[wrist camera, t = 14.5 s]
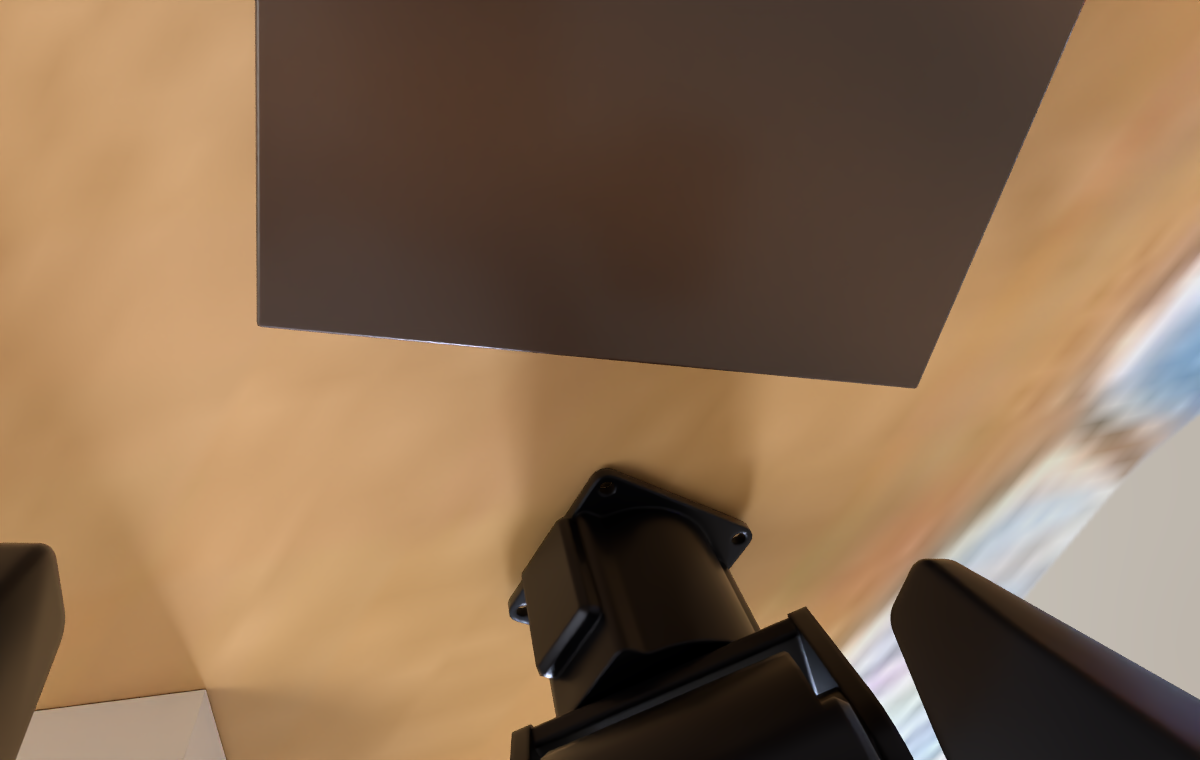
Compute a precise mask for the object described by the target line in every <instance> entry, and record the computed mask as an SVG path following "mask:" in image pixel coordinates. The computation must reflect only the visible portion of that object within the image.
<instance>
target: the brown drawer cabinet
mask: <svg viewBox="0 0 1200 760" xmlns="http://www.w3.org/2000/svg"><path fill="white" fill-rule="evenodd" d="M1084 3H1085V0H255V81H256V265H257V324H258V326H260V327H268V328H279V329H289V330H300V331H310V332H321V333H332V334H342V335H353V336H363V337H374V338H385V339H395V340H406V341H417V342H427V343H438V344H448V345H459V346H470V347H480V348H491V349H501V350H512V351H523V352H533V353H544V354H554V355H565V356H576V357H586V358H597V359H608V360H618V361H629V362H639V363H650V364H661V365H671V366H682V367H692V368H703V369H714V370H724V371H735V372H745V373H756V374H767V375H777V376H788V377H799V378H809V379H820V380H830V381H841V382H852V383H862V384H873V385H883V386H894V387H905V388H917V386H918V384H919V382H920V379H921V377H922V375H923V373H924V370H925V368H926V366H927V363H928V361H929V359H930V356H931V354H932V352H933V350H934V347H935V345H936V343H937V340H938V338H939V336H940V333H941V331H942V329H943V327H944V324H945V322H946V320H947V317H948V315H949V313H950V310H951V308H952V306H953V304H954V301H955V299H956V297H957V294H958V292H959V290H960V287H961V285H962V283H963V281H964V278H965V276H966V274H967V271H968V269H969V267H970V265H971V262H972V260H973V258H974V255H975V253H976V251H977V248H978V246H979V244H980V242H981V239H982V237H983V235H984V232H985V230H986V228H987V225H988V223H989V221H990V219H991V216H992V214H993V212H994V209H995V207H996V205H997V202H998V200H999V198H1000V196H1001V193H1002V191H1003V189H1004V186H1005V184H1006V182H1007V179H1008V177H1009V175H1010V173H1011V170H1012V168H1013V166H1014V163H1015V161H1016V159H1017V157H1018V154H1019V152H1020V150H1021V147H1022V145H1023V143H1024V140H1025V138H1026V136H1027V134H1028V131H1029V129H1030V127H1031V124H1032V122H1033V120H1034V117H1035V115H1036V113H1037V111H1038V108H1039V106H1040V104H1041V101H1042V99H1043V97H1044V94H1045V92H1046V90H1047V88H1048V85H1049V83H1050V81H1051V78H1052V76H1053V74H1054V71H1055V69H1056V67H1057V65H1058V62H1059V60H1060V58H1061V55H1062V53H1063V51H1064V48H1065V46H1066V44H1067V42H1068V39H1069V37H1070V35H1071V32H1072V30H1073V28H1074V26H1075V23H1076V21H1077V19H1078V16H1079V14H1080V12H1081V9H1082V7H1083V5H1084Z"/></svg>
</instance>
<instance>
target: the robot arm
mask: <svg viewBox="0 0 1200 760" xmlns="http://www.w3.org/2000/svg"><path fill="white" fill-rule="evenodd" d="M605 482H612V483H611V485H609V486H608V487H605V488H602V487H600V486H601V485H602V484H603V483H605ZM739 533H740V534H739ZM736 534H739V535H738V536H737V537H734V536H735V535H736ZM733 537H734V538H733ZM751 540H752V533H751V531H750V529H749V528H748V526H747V524H746V523H744V522H743V521H741V520H738V519H736V518H733V517H731V516H728V515H726V514H723V513H721V512H718V511H716V510H713V509H711V508H708V507H706V506H703V505H701V504H698V503H696V502H693V501H691V500H688V499H686V498H683V497H681V496H678V495H676V494H673V493H671V492H668V491H666V490H663V489H661V488H658V487H656V486H653V485H651V484H648V483H646V482H643V481H641V480H638V479H636V478H633V477H631V476H628V475H626V474H623V473H621V472H618V471H616V470H613V469H609V468H605V469H600V470H598V471H596V472H595V473H594V474H593V475H592V476H591V478H590V479H589V481H588V482H587V484H586V485H585V487H584V488H583V490H582V491H581V493H580V494H579V496H578V497H577V499H576V500H575V502H574V503H573V505H572V506H571V508H570V509H569V511H568V512H567V514H566V515H565V517H563V518H561V519H560V520H558V521H557V522H556V523H555V525H554V526H553V528H552V529H551V531H550V532H549V534H548V535H547V537H546V538H545V540H544V541H543V543H542V544H541V546H540V547H539V549H538V550H537V552H536V553H535V555H534V556H533V558H532V559H531V561H530V562H529V564H528V565H527V567H526V568H525V570H524V571H523V573H522V581H521V583H520V584H519V586H518V587H517V588H516V590H515V591H514V593H513V594H512V596H511V597H510V599H509V602H508V607H509V614H510V617H511V618H512V619H513V620H515V621H517V622H521V623H525V624H528V625H530V631H531V638H532V644H533V650H534V656H535V662H536V667H537V669H538V672H539V674H540V676H544V677H548V678H549V679H550V684H551V690H552V696H553V701H554V707H555V712H556V718H554V719H551V720H549V721H547V722H544V723H542V724H540V725H537V726H535V727H533V726H532V725H528V726H526V727H523V728H521V729H519V730H517V731H514V732H512V739H511V755H510V760H914V759H913V757H912V755H911V753H910V751H909V750H908V748H907V746H906V744H905V742H904V741H903V739H902V737H901V736H900V734H899V732H898V730H897V729H896V727H895V725H894V724H893V722H892V721H891V719H890V717H889V716H888V714H887V713H886V711H885V710H884V708H883V706H882V705H881V704H880V702H879V701H878V700H877V698H876V697H875V695H874V694H873V693H872V691H871V690H870V689H869V687H868V686H867V685H866V684H865V682H864V681H863V680H862V678H861V677H860V676H859V674H858V673H857V672H856V671H855V669H854V668H853V667H852V665H851V664H850V663H849V662H848V660H847V659H846V658H845V656H844V655H843V654H842V653H841V651H840V650H839V649H838V647H837V646H836V645H835V644H834V642H833V641H832V640H831V638H830V637H829V636H828V634H827V633H826V632H825V631H824V629H823V628H822V627H821V625H820V624H819V623H818V622H817V620H816V619H815V618H814V616H813V615H812V614H811V613H810V611H809V610H808V609H807V607H803V608H801V609H799V610H796V611H794V612H792V613H789V614H788V618H787V619H784V620H782V621H780V622H777V623H775V624H773V625H770V626H768V627H766V628H764V629H761V630H760V628H759V626H758V624H757V622H756V620H755V618H754V616H753V615H752V613H751V611H750V609H749V607H748V605H747V603H746V601H745V599H744V597H743V595H742V594H741V592H740V590H739V588H738V586H737V584H736V582H735V580H734V578H733V576H732V575H731V573H730V571H729V569H730V567H731V566H732V565H733V564H734V562H735V561H736V560H737V559H738V557H739V556H740V555H741V553H742V552H743V551H744V550H745V548H746V547H747V546H748V545H749V543H750V541H751ZM523 605H526V607H524V608H519V607H520V606H523ZM64 625H65V609H64V603H63V597H62V590H61V584H60V578H59V572H58V565H57V559H56V555H55V553H54V551H53V549H52V548H51V547H49V546H48V545H46V544H42V543H0V760H16V758H17V755H18V752H19V750H20V747H21V745H22V742H23V739H24V737H25V734H26V731H27V729H28V726H29V724H30V721H31V718H32V716H33V713H34V710H35V708H36V705H37V703H38V700H39V697H40V695H41V692H42V689H43V687H44V684H45V682H46V679H47V676H48V674H49V671H50V669H51V666H52V663H53V661H54V658H55V655H56V653H57V650H58V648H59V645H60V642H61V639H62V635H63V631H64ZM891 626H892V630H893V633H894V635H895V637H896V640H897V642H898V645H899V647H900V650H901V652H902V654H903V657H904V659H905V662H906V664H907V667H908V669H909V671H910V674H911V676H912V679H913V681H914V684H915V686H916V689H917V691H918V693H919V696H920V698H921V701H922V703H923V706H924V708H925V710H926V713H927V715H928V718H929V720H930V723H931V725H932V728H933V730H934V732H935V735H936V737H937V739H938V741H939V744H940V746H941V748H942V751H943V753H944V755H945V757H946V759H947V760H1200V700H1199V699H1198V698H1196V697H1194V696H1192V695H1191V694H1189V693H1187V692H1185V691H1184V690H1182V689H1180V688H1178V687H1176V686H1174V685H1173V684H1171V683H1169V682H1168V681H1166V680H1164V679H1162V678H1161V677H1159V676H1157V675H1155V674H1153V673H1151V672H1150V671H1148V670H1146V669H1145V668H1143V667H1141V666H1139V665H1138V664H1136V663H1134V662H1132V661H1130V660H1129V659H1127V658H1125V657H1123V656H1122V655H1120V654H1118V653H1116V652H1115V651H1113V650H1111V649H1109V648H1108V647H1106V646H1104V645H1102V644H1101V643H1099V642H1097V641H1095V640H1093V639H1092V638H1090V637H1088V636H1086V635H1085V634H1083V633H1081V632H1079V631H1078V630H1076V629H1074V628H1072V627H1071V626H1069V625H1067V624H1065V623H1063V622H1061V621H1060V620H1058V619H1056V618H1055V617H1053V616H1051V615H1049V614H1047V613H1046V612H1044V611H1042V610H1040V609H1038V608H1037V607H1035V606H1033V605H1031V604H1030V603H1028V602H1026V601H1025V600H1023V599H1021V598H1019V597H1018V596H1016V595H1014V594H1012V593H1010V592H1009V591H1007V590H1005V589H1003V588H1002V587H1000V586H998V585H996V584H995V583H993V582H991V581H989V580H988V579H986V578H984V577H982V576H980V575H979V574H977V573H975V572H973V571H972V570H970V569H968V568H966V567H965V566H963V565H961V564H959V563H957V562H955V561H953V560H949V559H922V560H919V561H918V562H916V563H915V564H914V565H913V566H912V568H911V570H910V572H909V574H908V576H907V578H906V580H905V582H904V584H903V586H902V588H901V590H900V592H899V594H898V596H897V598H896V600H895V602H894V604H893V607H892V610H891Z"/></svg>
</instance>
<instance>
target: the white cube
mask: <svg viewBox="0 0 1200 760" xmlns="http://www.w3.org/2000/svg"><path fill="white" fill-rule="evenodd" d="M16 760H226V758H225V754H224V751H223V747H222V744H221V740H220V737H219V733H218V730H217V727H216V723H215V720H214V716H213V713H212V709H211V706H210V702H209V699H208V695H207V692H206V690H198V691H190V692H182V693H174V694H167V695H159V696H151V697H143V698H135V699H127V700H119V701H112V702H104V703H96V704H88V705H80V706H72V707H64V708H57V709H49V710H41V711H34V713H33V716H32V718H31V721H30V724H29V726H28V729H27V731H26V734H25V737H24V739H23V742H22V745H21V747H20V750H19V752H18V755H17V758H16Z"/></svg>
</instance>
